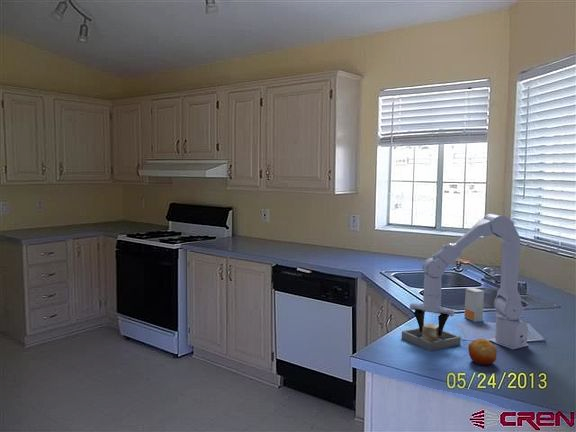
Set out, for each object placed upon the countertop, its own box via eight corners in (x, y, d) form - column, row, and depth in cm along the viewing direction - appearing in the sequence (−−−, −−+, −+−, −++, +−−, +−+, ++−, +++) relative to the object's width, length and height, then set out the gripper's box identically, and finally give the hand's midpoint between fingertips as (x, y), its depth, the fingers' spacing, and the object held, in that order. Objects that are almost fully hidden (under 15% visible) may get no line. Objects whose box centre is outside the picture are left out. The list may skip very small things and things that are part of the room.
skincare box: (463, 317, 193) (465, 288, 192) (472, 316, 194) (473, 287, 193) (474, 322, 187) (475, 291, 186) (483, 321, 188) (484, 290, 187)
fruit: (486, 350, 152) (493, 334, 148) (495, 372, 146) (503, 355, 141) (460, 351, 152) (467, 334, 147) (469, 372, 146) (475, 355, 141)
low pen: (460, 344, 162) (460, 337, 162) (430, 351, 156) (430, 343, 155) (430, 332, 174) (430, 325, 174) (401, 338, 167) (401, 331, 167)
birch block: (438, 339, 165) (439, 325, 165) (435, 343, 162) (436, 328, 161) (425, 337, 168) (426, 323, 167) (422, 340, 164) (422, 326, 164)
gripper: (457, 294, 163) (455, 333, 164) (414, 288, 170) (413, 326, 172) (452, 299, 157) (450, 339, 158) (408, 292, 165) (407, 331, 166)
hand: (430, 333), depth 164 cm, fingers open, 6 cm apart
